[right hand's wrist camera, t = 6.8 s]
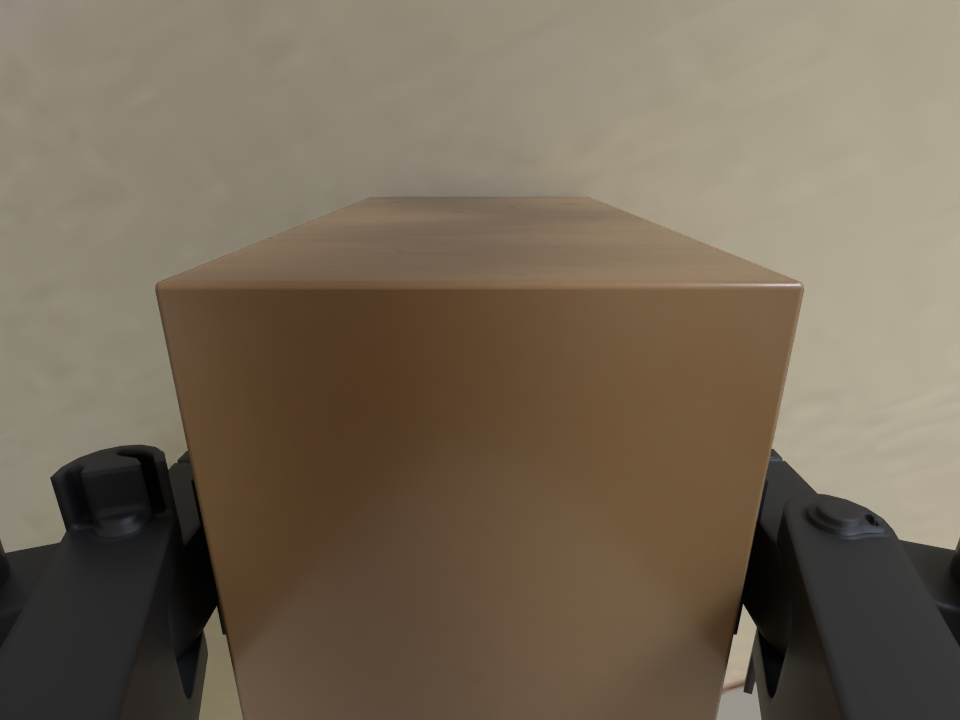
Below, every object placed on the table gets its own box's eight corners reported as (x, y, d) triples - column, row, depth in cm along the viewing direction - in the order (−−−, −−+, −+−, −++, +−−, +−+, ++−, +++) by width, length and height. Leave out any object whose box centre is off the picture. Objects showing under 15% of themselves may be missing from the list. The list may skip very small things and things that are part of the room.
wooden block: (591, 197, 16) (809, 282, 5) (573, 465, 19) (691, 854, 8) (368, 196, 16) (150, 282, 5) (386, 465, 19) (268, 854, 8)
